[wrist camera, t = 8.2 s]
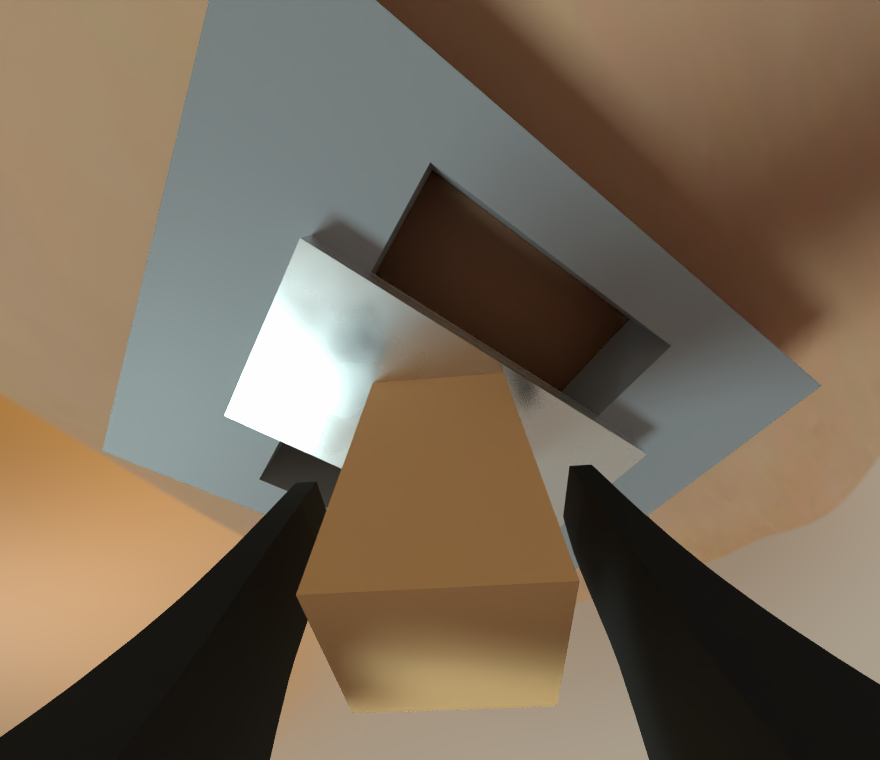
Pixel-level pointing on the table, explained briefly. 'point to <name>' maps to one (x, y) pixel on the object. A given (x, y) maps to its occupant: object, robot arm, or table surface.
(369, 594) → the tan rectangular block
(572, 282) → the table surface
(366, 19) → the grey square frame
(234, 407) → the silver rectangular plate
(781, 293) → the table surface
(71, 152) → the table surface
